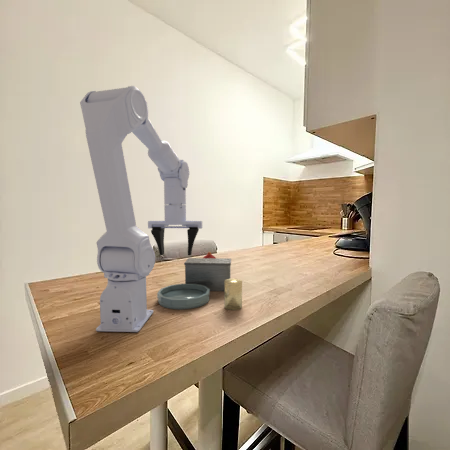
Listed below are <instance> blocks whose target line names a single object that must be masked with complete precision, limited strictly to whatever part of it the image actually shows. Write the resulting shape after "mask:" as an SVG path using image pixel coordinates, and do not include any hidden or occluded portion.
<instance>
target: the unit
mask: <svg viewBox="0 0 450 450" xmlns="http://www.w3.org/2000/svg"><path fill="white" fill-rule="evenodd" d="M183 263H184V264H183V265H184V273H185V274H184V275H185V276H184V277H185V278H184V279H185V280H184V282H185V283H184V284H198V285H204V286H206V287H207V288H209V289H210V292H224V281H225V280H226V279H232V278H231V271H232V270H231V267H232V258H224V257H223V258H217V257H215V258H203V257H202V258H201V257H196V258H195V257H188V258H187V259H186V260H185V261H184V262H183Z"/></svg>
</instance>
